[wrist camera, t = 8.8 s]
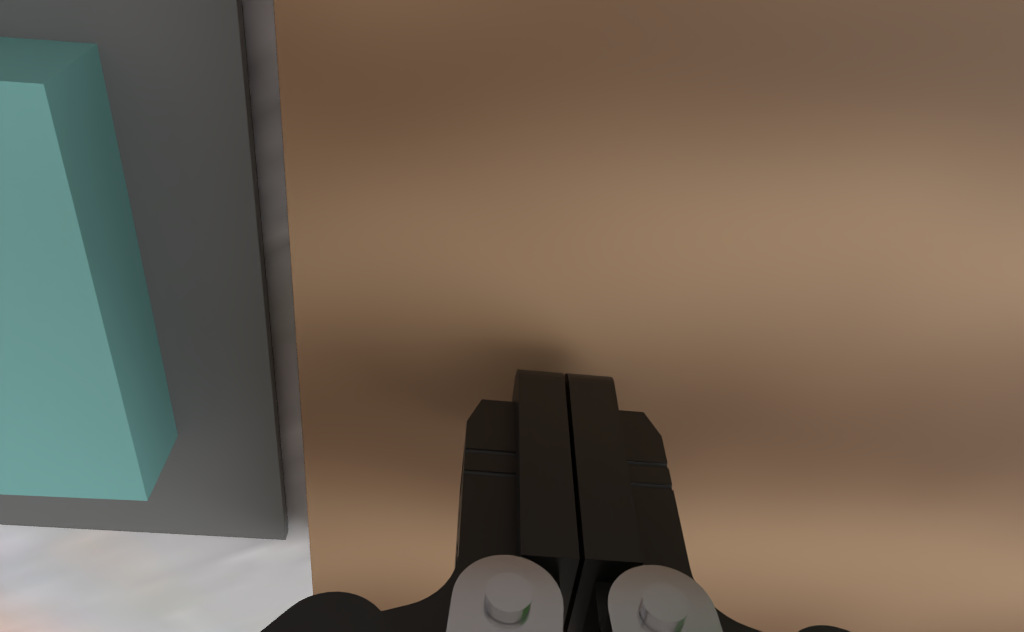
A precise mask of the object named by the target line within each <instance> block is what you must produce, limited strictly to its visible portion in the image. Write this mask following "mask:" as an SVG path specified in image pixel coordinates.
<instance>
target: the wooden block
mask: <svg viewBox="0 0 1024 632" xmlns="http://www.w3.org/2000/svg"><path fill="white" fill-rule="evenodd" d="M274 15H275V30H276V45H277V60H278V75H279V90H280V105H281V120H282V135H283V150H284V165H285V180H286V195H287V210H288V225H289V240H290V255H291V270H292V285H293V300H294V315H295V330H296V345H297V359H298V374H299V389H300V404H301V419H302V434H303V449H304V464H305V479H306V494H307V509H308V524H309V539H310V554H311V569H312V584H313V595H316V594H319V593H325V592H338V591H339V592H348V593H352V594H356V595H359V596H361V597H363V598H365V599H367V600H369V601H370V602H372V603H373V604H374V605H375V606H376V607H377V608H378V609H380V610H381V611H384V610H388V609H392V608H396V607H401V606H405V605H409V604H412V603H415V602H418V601H421V600H423V599H425V598H427V597H429V596H430V595H432V594H433V593H435V592H437V591H438V590H439V589H440V588H441V587H442V586H443V585H444V584H445V583H446V582H447V581H448V579H449V578H450V577H451V575H452V573H453V571H454V569H455V554H456V540H457V539H456V538H457V523H458V508H459V493H460V482H461V472H462V463H463V453H464V443H465V434H466V424H467V420H468V419H469V417H470V416H471V414H472V413H473V411H474V410H475V408H476V407H477V406H478V404H479V403H480V401H481V400H482V399H485V400H497V401H510V402H512V396H513V389H514V382H515V375H516V371H517V369H522V370H534V371H546V372H558V373H563V374H564V376H565V374H566V373H572V374H584V375H596V376H608V377H612V378H613V380H614V384H615V390H616V396H617V402H618V408H619V410H624V411H636V412H644V413H645V415H646V416H647V417H648V419H649V420H650V421H651V423H652V424H653V425H654V427H655V428H656V429H657V431H658V432H659V433H660V435H661V436H662V439H663V444H664V449H665V453H666V458H667V468H669V472H670V477H671V481H672V490H674V495H675V500H676V504H677V509H678V514H679V518H680V523H681V527H682V532H683V537H684V541H685V546H686V551H687V555H688V560H689V565H690V569H691V572H692V576H693V578H694V580H695V581H696V582H697V583H698V584H699V585H700V586H701V587H702V588H703V589H704V590H705V592H706V593H707V594H708V595H709V597H710V599H711V600H712V602H713V604H714V606H715V608H717V609H718V610H719V611H720V612H722V613H723V614H725V615H726V616H728V617H729V618H731V619H733V620H735V621H736V622H739V623H741V624H743V625H746V626H748V627H751V628H754V629H756V630H759V631H762V632H798V631H800V630H801V629H804V628H806V627H809V626H815V625H828V626H834V627H838V628H842V629H845V630H847V631H850V632H1024V0H274Z"/></svg>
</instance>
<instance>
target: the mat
mask: <svg viewBox="0 0 1024 632" xmlns="http://www.w3.org/2000/svg"><path fill="white" fill-rule="evenodd" d="M0 37H10V38H24V39H38V40H52V41H66V42H80V43H94V44H97V46H98V51H99V56H100V61H101V66H102V71H103V75H104V80H105V85H106V90H107V95H108V100H109V104H110V109H111V114H112V119H113V124H114V129H115V134H116V138H117V143H118V148H119V153H120V158H121V163H122V167H123V172H124V177H125V182H126V187H127V192H128V196H129V201H130V206H131V211H132V216H133V221H134V225H135V230H136V235H137V240H138V245H139V250H140V255H141V259H142V264H143V269H144V274H145V279H146V284H147V288H148V293H149V298H150V303H151V308H152V313H153V317H154V322H155V327H156V332H157V337H158V342H159V347H160V351H161V356H162V361H163V366H164V371H165V376H166V380H167V385H168V390H169V395H170V400H171V405H172V409H173V414H174V419H175V424H176V429H177V434H178V437H177V439H176V441H175V443H174V445H173V447H172V450H171V452H170V454H169V456H168V458H167V460H166V462H165V465H164V467H163V469H162V471H161V473H160V475H159V477H158V480H157V482H156V484H155V486H154V488H153V490H152V493H151V495H150V497H149V499H148V501H138V500H115V499H93V498H70V497H48V496H25V495H3V494H0V524H2V525H21V526H39V527H58V528H76V529H95V530H113V531H132V532H150V533H169V534H187V535H206V536H224V537H243V538H261V539H280V540H286V537H287V533H288V523H287V512H286V501H285V489H284V478H283V466H282V455H281V444H280V432H279V421H278V410H277V398H276V387H275V375H274V364H273V353H272V341H271V330H270V319H269V307H268V296H267V285H266V273H265V262H264V250H263V239H262V228H261V216H260V205H259V194H258V182H257V171H256V160H255V148H254V137H253V125H252V114H251V103H250V91H249V80H248V69H247V57H246V46H245V34H244V23H243V12H242V0H0Z"/></svg>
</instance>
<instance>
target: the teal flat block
mask: <svg viewBox="0 0 1024 632" xmlns="http://www.w3.org/2000/svg"><path fill="white" fill-rule="evenodd" d="M177 437H178V434H177V429H176V424H175V419H174V414H173V409H172V405H171V400H170V395H169V390H168V385H167V380H166V376H165V371H164V366H163V361H162V356H161V351H160V347H159V342H158V337H157V332H156V327H155V322H154V317H153V313H152V308H151V303H150V298H149V293H148V288H147V284H146V279H145V274H144V269H143V264H142V259H141V255H140V250H139V245H138V240H137V235H136V230H135V225H134V221H133V216H132V211H131V206H130V201H129V196H128V192H127V187H126V182H125V177H124V172H123V167H122V163H121V158H120V153H119V148H118V143H117V138H116V134H115V129H114V124H113V119H112V114H111V109H110V104H109V100H108V95H107V90H106V85H105V80H104V75H103V71H102V66H101V61H100V56H99V51H98V46H97V44H94V43H80V42H66V41H52V40H38V39H24V38H10V37H0V494H3V495H25V496H48V497H70V498H93V499H115V500H138V501H148V499H149V497H150V495H151V493H152V490H153V488H154V486H155V484H156V482H157V480H158V477H159V475H160V473H161V471H162V469H163V467H164V465H165V462H166V460H167V458H168V456H169V454H170V452H171V450H172V447H173V445H174V443H175V441H176V439H177Z"/></svg>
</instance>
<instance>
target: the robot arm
mask: <svg viewBox="0 0 1024 632" xmlns="http://www.w3.org/2000/svg"><path fill="white" fill-rule="evenodd" d="M456 539H457V540H456V554H455V569H454V571H453V573H452V575H451V577H450V578H449V579H448V581H447V582H446V583H445V584H444V585H443V586H442V587H441V588H440V589H439V590H438V591H437V592H435V593H433V594H432V595H430V596H429V597H427V598H425V599H423V600H421V601H418V602H415V603H412V604H409V605H405V606H401V607H396V608H392V609H388V610H384V611H381V610H380V609H378V608H377V607H376V606H375V605H374V604H373V603H372V602H370V601H369V600H367V599H365V598H363V597H361V596H359V595H356V594H352V593H348V592H339V591H338V592H325V593H319V594H316V595H313V596H310V597H307V598H305V599H303V600H301V601H299V602H298V603H296V604H295V605H293V606H292V607H290V608H289V609H288V610H287V611H285V612H284V613H283V614H282V615H280V616H279V617H278V618H277V619H276V620H274V621H273V622H272V623H271V624H269V625H268V626H267V627H266V628H264V629H263V630H262V631H261V632H762V631H759V630H756V629H754V628H751V627H748V626H746V625H743V624H741V623H739V622H736V621H735V620H733V619H731V618H729V617H728V616H726V615H725V614H723V613H722V612H720V611H719V610H718V609H717V608H715V606H714V604H713V602H712V600H711V599H710V597H709V595H708V594H707V593H706V592H705V590H704V589H703V588H702V587H701V586H700V585H699V584H698V583H697V582H696V581H695V580H694V578H693V576H692V572H691V569H690V565H689V560H688V555H687V551H686V546H685V541H684V537H683V532H682V527H681V523H680V518H679V514H678V509H677V504H676V500H675V495H674V490H672V481H671V477H670V472H669V468H667V458H666V453H665V449H664V444H663V439H662V436H661V435H660V433H659V432H658V431H657V429H656V428H655V427H654V425H653V424H652V423H651V421H650V420H649V419H648V417H647V416H646V415H645V413H644V412H636V411H624V410H619V408H618V402H617V396H616V390H615V384H614V380H613V378H612V377H608V376H596V375H584V374H572V373H566V374H565V376H564V374H563V373H558V372H546V371H534V370H522V369H517V371H516V375H515V382H514V389H513V396H512V402H510V401H497V400H485V399H482V400H481V401H480V403H479V404H478V406H477V407H476V408H475V410H474V411H473V413H472V414H471V416H470V417H469V419H468V420H467V424H466V434H465V443H464V453H463V463H462V472H461V482H460V493H459V508H458V523H457V538H456ZM798 632H850V631H847V630H845V629H842V628H838V627H834V626H828V625H815V626H809V627H806V628H804V629H801V630H800V631H798Z"/></svg>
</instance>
